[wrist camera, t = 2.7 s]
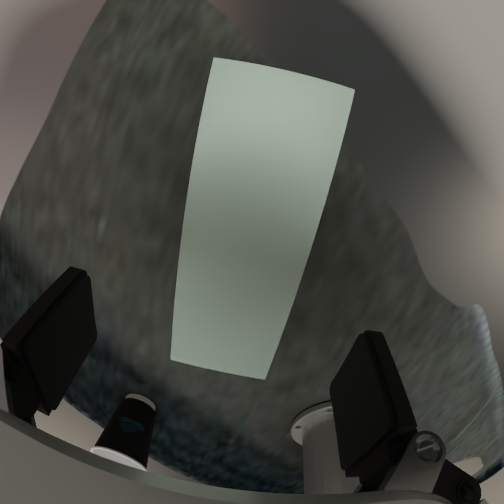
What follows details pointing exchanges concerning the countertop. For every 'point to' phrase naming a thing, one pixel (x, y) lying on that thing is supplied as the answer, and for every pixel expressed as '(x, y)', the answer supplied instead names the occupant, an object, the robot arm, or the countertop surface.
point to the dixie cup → (128, 433)
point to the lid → (252, 211)
